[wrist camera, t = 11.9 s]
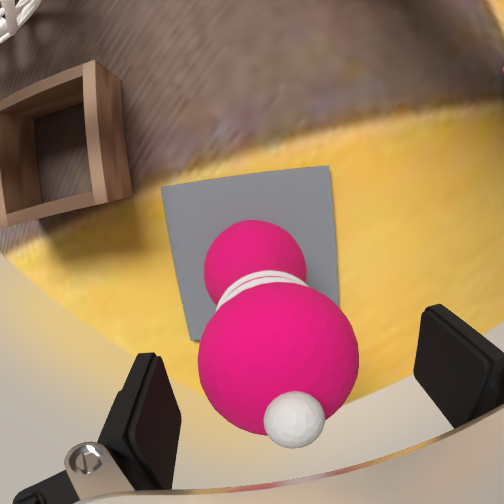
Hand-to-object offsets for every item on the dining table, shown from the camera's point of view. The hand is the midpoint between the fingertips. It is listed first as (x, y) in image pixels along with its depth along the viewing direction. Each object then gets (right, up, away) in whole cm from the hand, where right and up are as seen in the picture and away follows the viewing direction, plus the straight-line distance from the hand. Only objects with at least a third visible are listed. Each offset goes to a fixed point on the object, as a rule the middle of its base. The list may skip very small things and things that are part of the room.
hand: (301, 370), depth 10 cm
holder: (-18, +13, +14) cm, 26 cm away
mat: (-1, +4, +17) cm, 18 cm away
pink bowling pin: (-2, +4, +17) cm, 17 cm away
